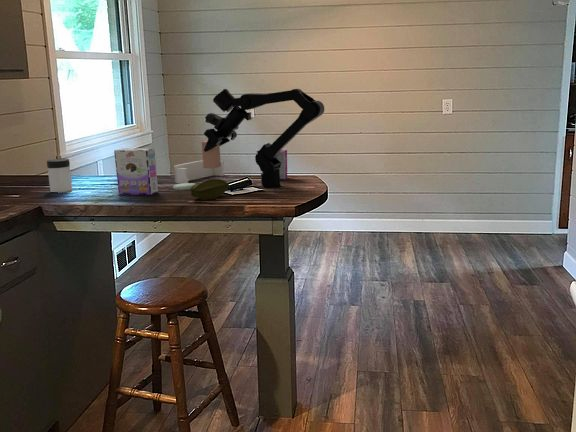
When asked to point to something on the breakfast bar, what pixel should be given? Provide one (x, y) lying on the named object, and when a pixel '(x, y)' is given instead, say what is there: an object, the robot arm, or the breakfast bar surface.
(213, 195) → the fruit
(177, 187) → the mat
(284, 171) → the supplement box
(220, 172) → the bay
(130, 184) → the candy box
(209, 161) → the block
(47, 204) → the breakfast bar surface
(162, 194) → the breakfast bar surface
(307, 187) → the breakfast bar surface
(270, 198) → the breakfast bar surface
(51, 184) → the jar
